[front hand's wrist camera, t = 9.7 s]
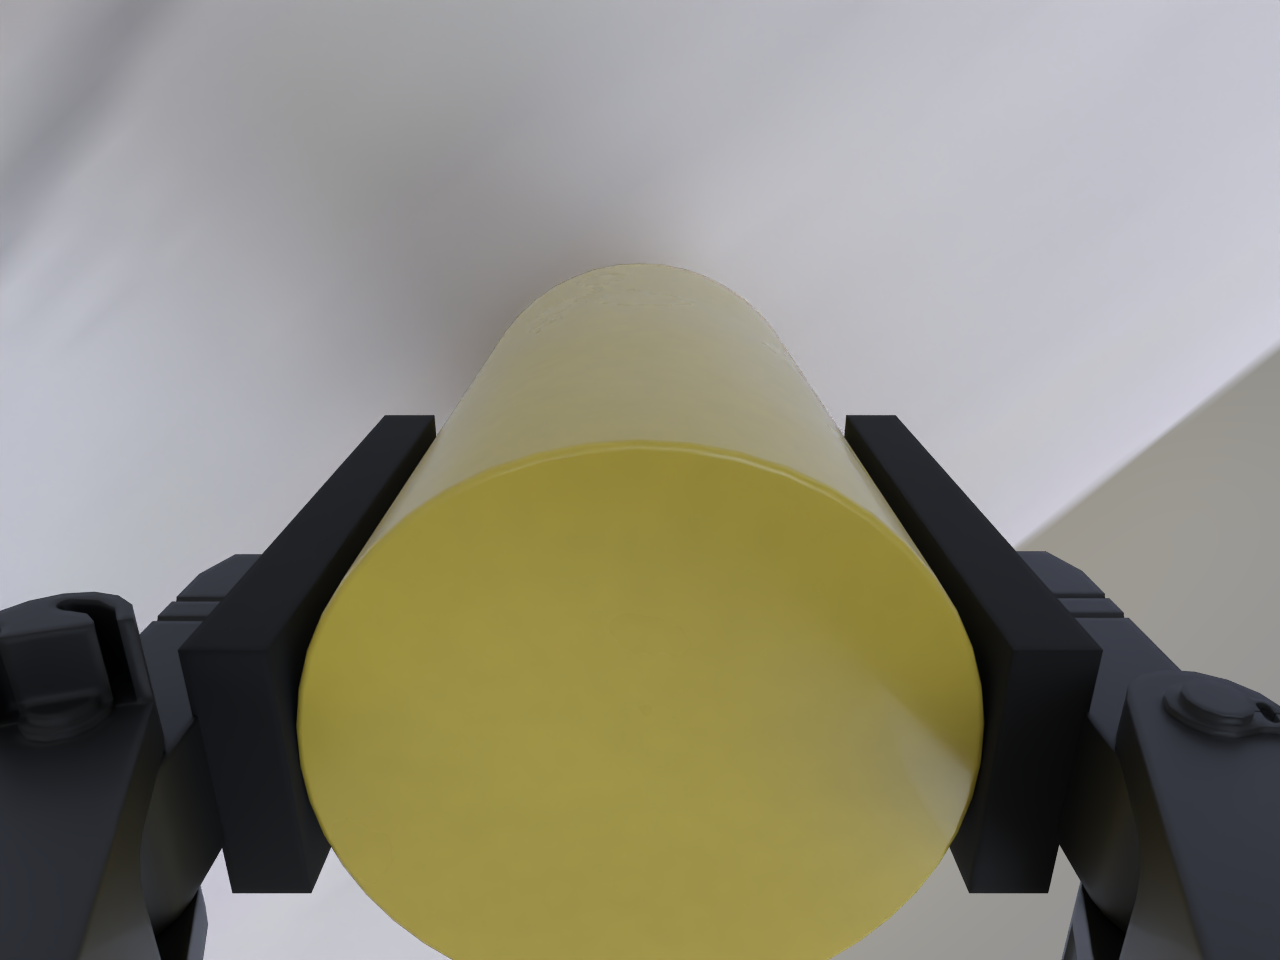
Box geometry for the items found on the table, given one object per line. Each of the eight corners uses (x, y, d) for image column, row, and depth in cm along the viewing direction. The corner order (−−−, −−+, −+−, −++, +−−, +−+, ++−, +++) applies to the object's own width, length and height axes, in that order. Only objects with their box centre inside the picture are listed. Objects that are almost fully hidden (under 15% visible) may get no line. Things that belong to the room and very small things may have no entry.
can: (512, 587, 19) (387, 1036, 9) (447, 288, 16) (198, 496, 7) (811, 551, 18) (984, 977, 9) (789, 240, 16) (990, 392, 7)
